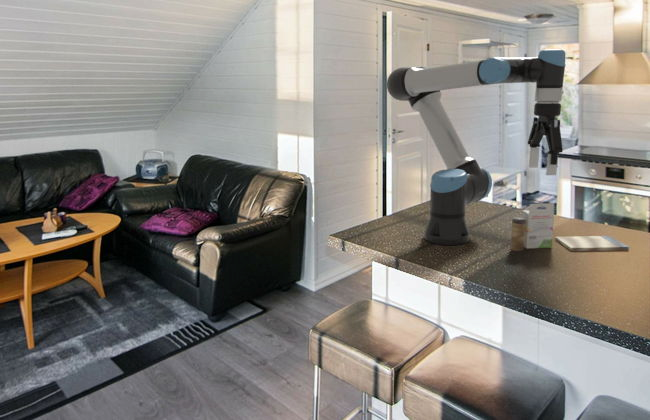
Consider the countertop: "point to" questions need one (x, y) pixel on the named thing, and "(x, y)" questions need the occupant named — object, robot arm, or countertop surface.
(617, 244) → the plywood panel
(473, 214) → the countertop surface
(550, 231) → the ink box
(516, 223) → the grey and tan cylinder
